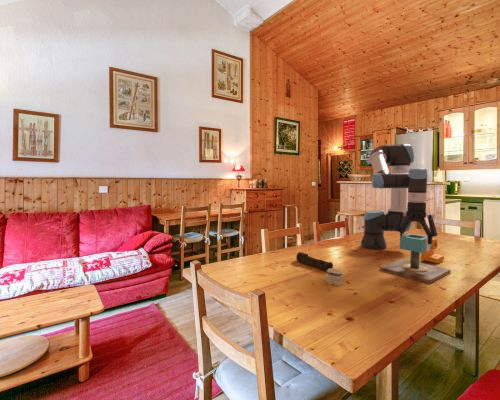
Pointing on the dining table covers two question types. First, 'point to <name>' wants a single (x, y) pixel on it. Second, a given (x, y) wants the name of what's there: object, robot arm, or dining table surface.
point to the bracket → (432, 254)
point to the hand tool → (313, 261)
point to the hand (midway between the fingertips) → (415, 248)
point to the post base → (415, 269)
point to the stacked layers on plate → (335, 276)
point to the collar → (413, 243)
